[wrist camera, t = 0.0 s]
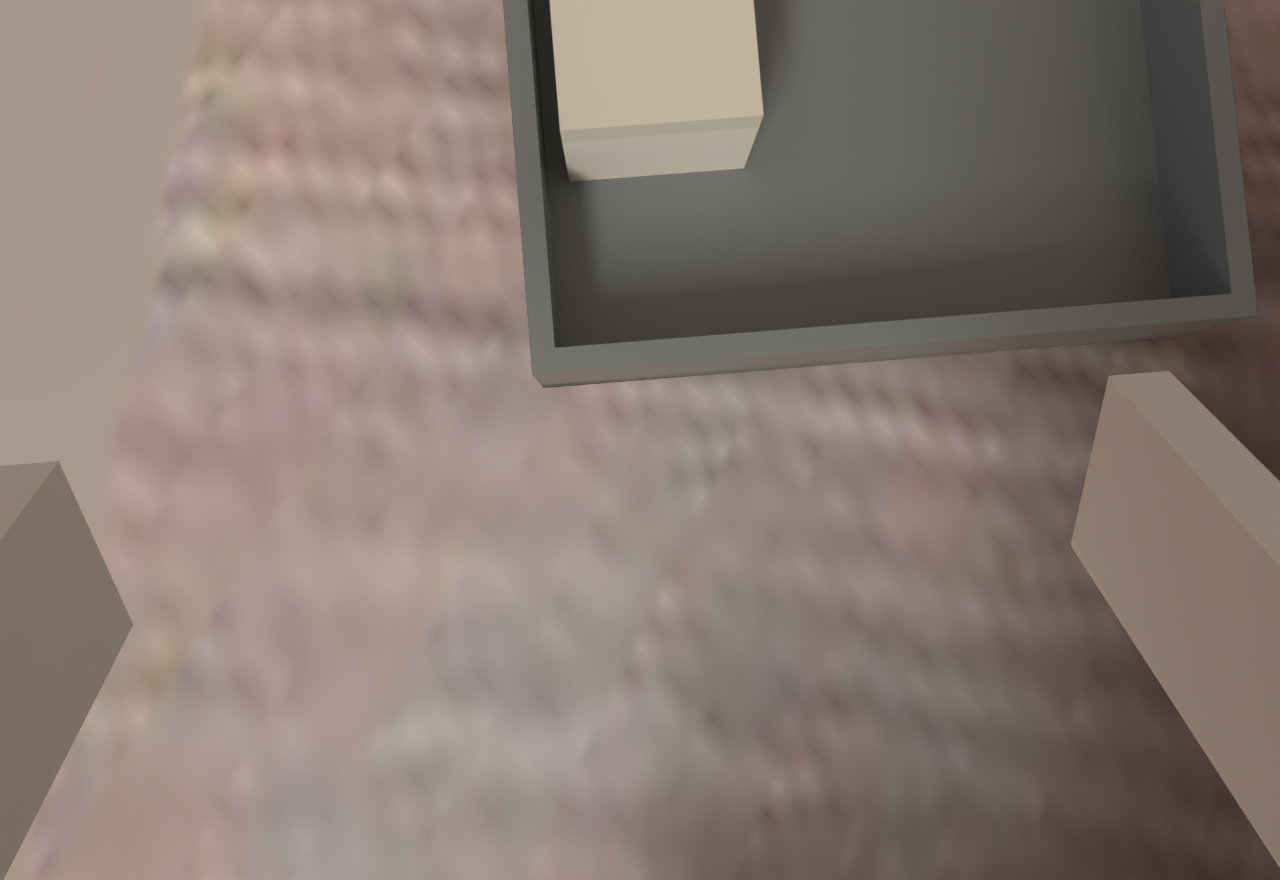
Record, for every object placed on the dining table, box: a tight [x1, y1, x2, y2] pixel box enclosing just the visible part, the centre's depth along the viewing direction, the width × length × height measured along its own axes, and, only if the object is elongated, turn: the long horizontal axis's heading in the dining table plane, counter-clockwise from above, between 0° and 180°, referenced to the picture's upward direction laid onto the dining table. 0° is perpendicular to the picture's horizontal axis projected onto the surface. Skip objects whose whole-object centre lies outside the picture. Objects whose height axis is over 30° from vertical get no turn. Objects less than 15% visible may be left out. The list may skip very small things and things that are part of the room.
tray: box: [503, 0, 1258, 388], centre depth 27 cm, size 18×18×4 cm
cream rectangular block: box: [550, 0, 764, 182], centre depth 26 cm, size 7×5×4 cm
